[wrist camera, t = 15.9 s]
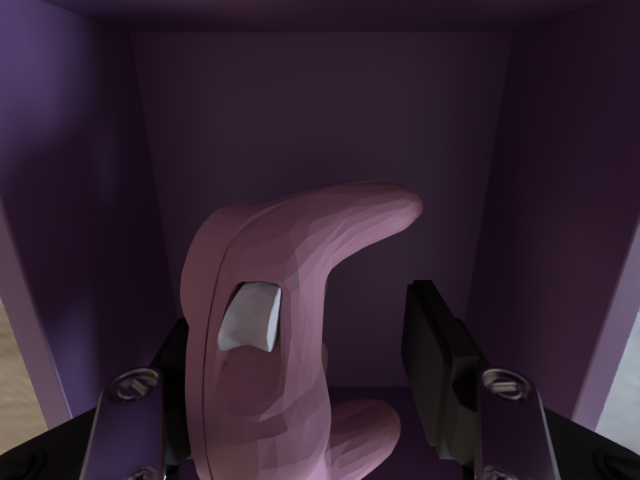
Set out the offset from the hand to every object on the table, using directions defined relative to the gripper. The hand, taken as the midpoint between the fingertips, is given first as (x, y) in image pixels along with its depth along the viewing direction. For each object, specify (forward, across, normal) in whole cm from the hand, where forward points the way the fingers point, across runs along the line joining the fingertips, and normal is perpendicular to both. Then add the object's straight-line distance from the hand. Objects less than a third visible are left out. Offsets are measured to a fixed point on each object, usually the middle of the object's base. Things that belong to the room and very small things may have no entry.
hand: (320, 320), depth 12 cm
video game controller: (+1, 0, 0) cm, 1 cm away
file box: (+6, 0, +1) cm, 6 cm away
